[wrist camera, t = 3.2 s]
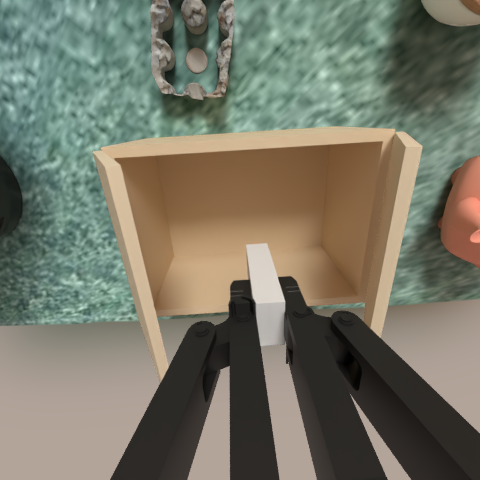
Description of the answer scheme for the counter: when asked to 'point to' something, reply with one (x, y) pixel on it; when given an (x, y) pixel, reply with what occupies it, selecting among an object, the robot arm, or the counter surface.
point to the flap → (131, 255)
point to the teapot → (463, 213)
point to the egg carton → (196, 57)
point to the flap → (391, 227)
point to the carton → (256, 211)
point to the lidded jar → (454, 11)
